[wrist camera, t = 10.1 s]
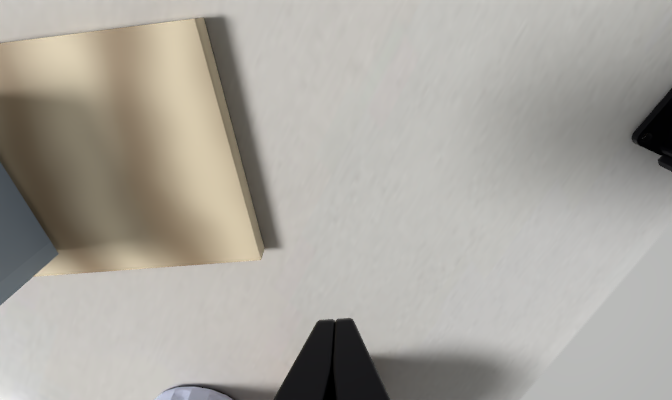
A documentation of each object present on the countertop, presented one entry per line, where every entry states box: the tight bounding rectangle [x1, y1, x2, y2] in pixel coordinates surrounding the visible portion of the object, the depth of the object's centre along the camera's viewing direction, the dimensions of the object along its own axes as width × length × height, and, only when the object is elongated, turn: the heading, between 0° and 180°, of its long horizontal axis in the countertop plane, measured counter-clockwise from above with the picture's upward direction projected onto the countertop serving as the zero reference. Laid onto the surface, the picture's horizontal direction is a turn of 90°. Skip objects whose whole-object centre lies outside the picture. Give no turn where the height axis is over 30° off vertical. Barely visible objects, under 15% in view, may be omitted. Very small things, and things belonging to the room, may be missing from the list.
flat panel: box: [0, 18, 265, 277], centre depth 19 cm, size 22×14×5 cm, turn 96°
